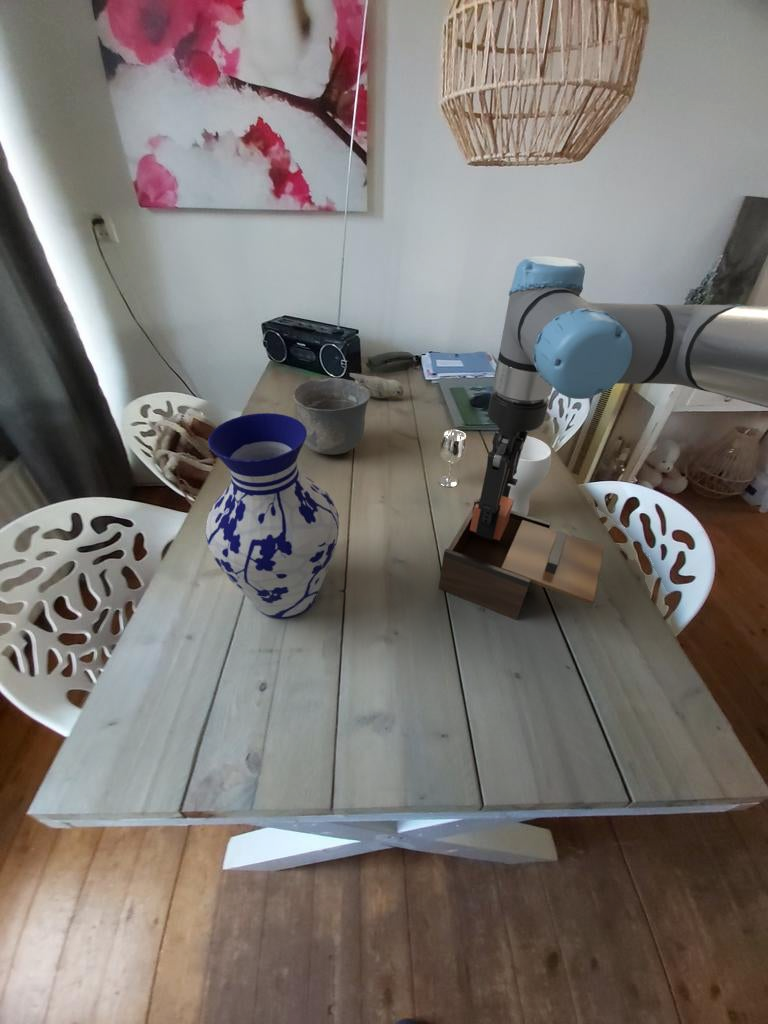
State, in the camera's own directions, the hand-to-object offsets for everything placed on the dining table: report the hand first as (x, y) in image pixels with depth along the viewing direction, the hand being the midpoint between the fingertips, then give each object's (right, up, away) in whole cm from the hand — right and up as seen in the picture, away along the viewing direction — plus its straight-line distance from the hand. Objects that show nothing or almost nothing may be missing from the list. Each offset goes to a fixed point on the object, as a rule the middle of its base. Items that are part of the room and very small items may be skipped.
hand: (489, 525), depth 73 cm
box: (+2, -9, +6) cm, 11 cm away
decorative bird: (-20, +37, +61) cm, 74 cm away
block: (0, 0, 0) cm, 0 cm away
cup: (+9, +3, +21) cm, 23 cm away
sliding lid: (+10, -6, -2) cm, 11 cm away
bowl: (-30, +18, +38) cm, 51 cm away
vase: (-34, -11, +2) cm, 36 cm away
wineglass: (-3, +9, +28) cm, 29 cm away
